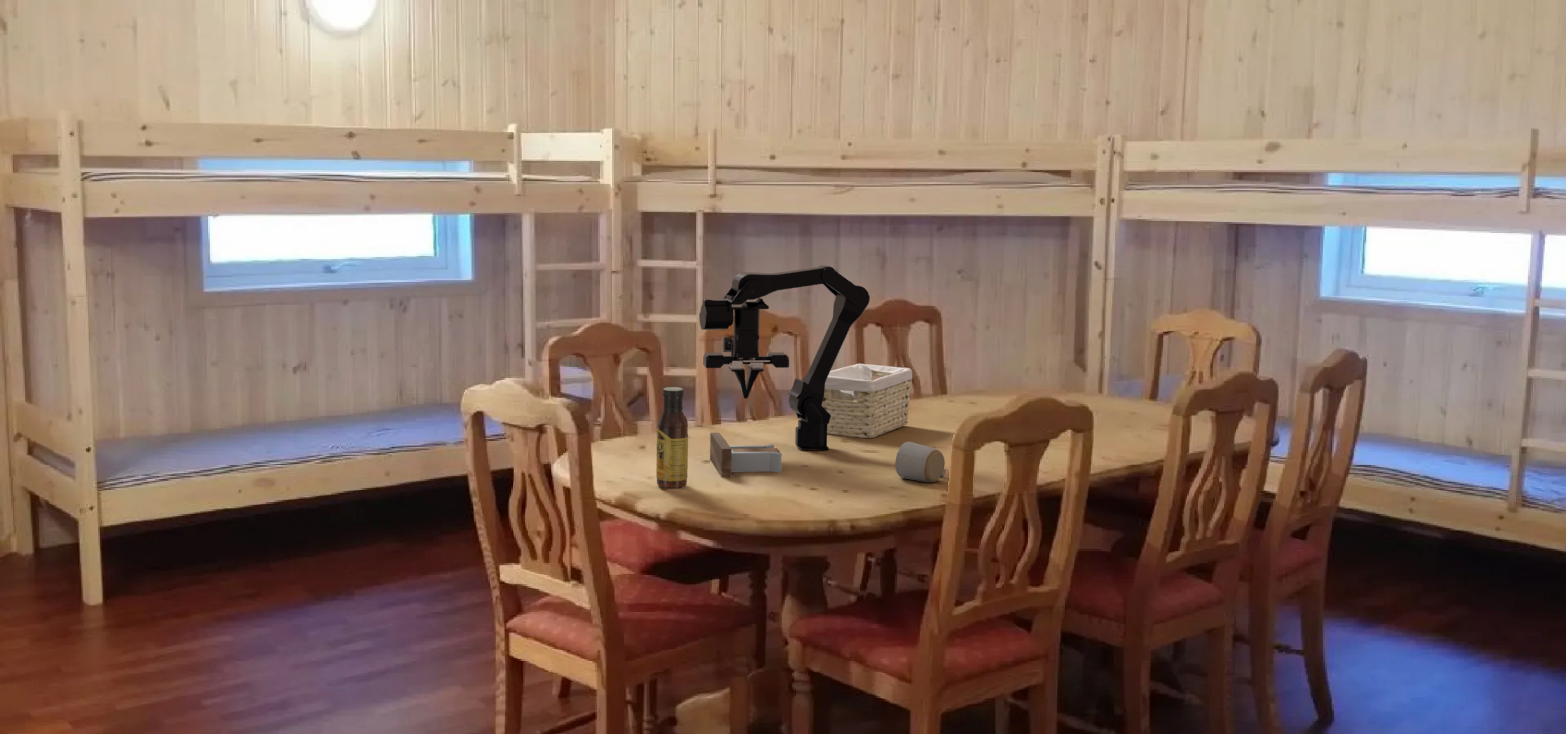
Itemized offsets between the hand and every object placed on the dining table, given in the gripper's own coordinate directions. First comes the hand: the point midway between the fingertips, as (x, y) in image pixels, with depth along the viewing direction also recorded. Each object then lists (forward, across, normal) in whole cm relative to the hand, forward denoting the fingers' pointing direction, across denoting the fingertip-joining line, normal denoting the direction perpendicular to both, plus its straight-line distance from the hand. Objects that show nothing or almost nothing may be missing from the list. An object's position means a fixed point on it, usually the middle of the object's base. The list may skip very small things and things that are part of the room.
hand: (745, 398), depth 324 cm
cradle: (+12, +1, +18) cm, 22 cm away
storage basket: (+12, -33, -24) cm, 43 cm away
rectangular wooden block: (+12, 0, +18) cm, 22 cm away
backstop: (+12, +8, +18) cm, 23 cm away
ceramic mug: (+12, -32, +32) cm, 47 cm away
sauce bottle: (+12, +20, +34) cm, 41 cm away
